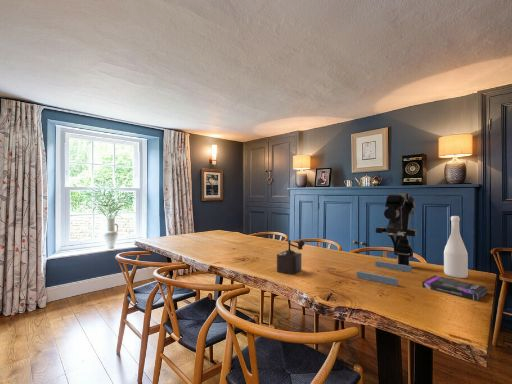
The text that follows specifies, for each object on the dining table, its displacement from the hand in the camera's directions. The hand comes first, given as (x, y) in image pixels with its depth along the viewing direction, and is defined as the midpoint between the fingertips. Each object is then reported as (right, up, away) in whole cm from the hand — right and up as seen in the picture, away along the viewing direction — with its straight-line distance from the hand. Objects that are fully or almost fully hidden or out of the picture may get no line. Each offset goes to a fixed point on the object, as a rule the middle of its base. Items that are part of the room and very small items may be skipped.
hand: (395, 247), depth 138 cm
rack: (-8, -13, -4) cm, 16 cm away
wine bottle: (+27, -13, -6) cm, 31 cm away
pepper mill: (-54, -13, +1) cm, 56 cm away
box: (+11, -14, -26) cm, 31 cm away
